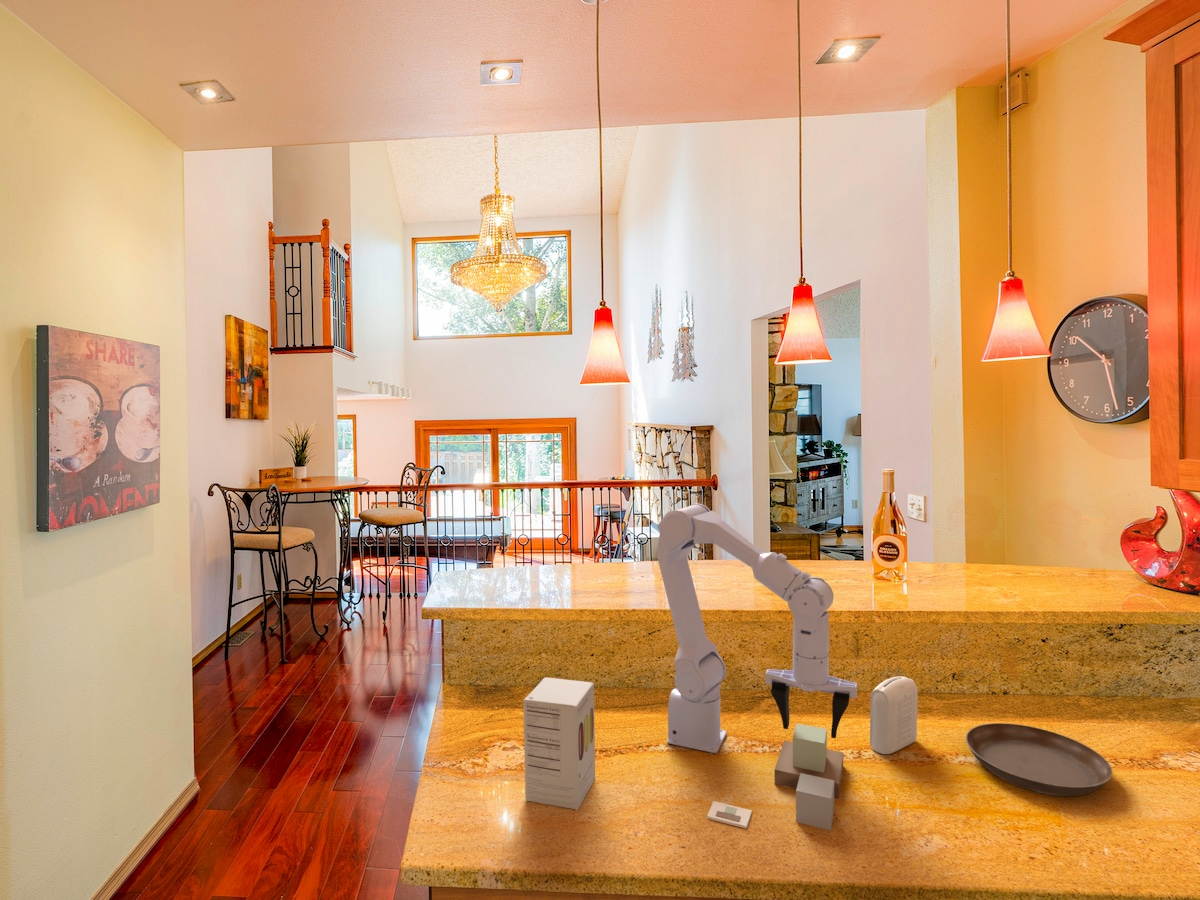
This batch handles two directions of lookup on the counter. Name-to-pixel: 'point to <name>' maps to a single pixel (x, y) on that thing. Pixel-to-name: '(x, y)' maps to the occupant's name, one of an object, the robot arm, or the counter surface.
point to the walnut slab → (790, 774)
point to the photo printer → (893, 715)
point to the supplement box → (559, 742)
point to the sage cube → (810, 747)
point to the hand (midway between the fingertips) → (809, 730)
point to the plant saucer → (1038, 759)
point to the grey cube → (815, 801)
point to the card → (729, 814)
